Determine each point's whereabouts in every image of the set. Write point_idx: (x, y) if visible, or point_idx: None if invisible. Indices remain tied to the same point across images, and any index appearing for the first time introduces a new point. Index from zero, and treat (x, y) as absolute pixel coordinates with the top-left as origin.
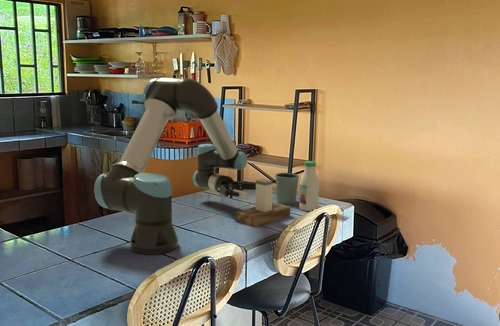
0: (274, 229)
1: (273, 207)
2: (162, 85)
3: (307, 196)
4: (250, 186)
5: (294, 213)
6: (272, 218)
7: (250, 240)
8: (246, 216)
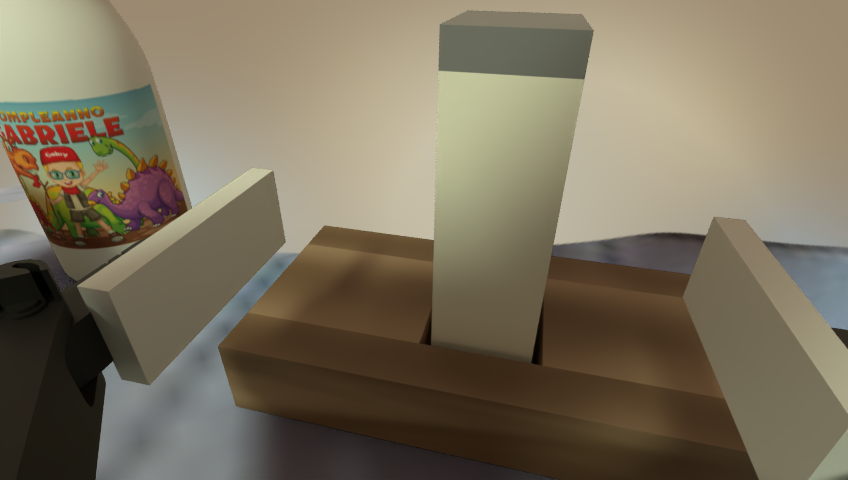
0: (607, 254)
1: (384, 283)
2: None
3: (174, 158)
4: (58, 470)
5: (264, 275)
6: None
7: (839, 267)
8: None
